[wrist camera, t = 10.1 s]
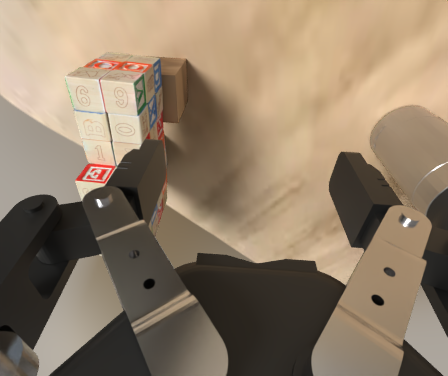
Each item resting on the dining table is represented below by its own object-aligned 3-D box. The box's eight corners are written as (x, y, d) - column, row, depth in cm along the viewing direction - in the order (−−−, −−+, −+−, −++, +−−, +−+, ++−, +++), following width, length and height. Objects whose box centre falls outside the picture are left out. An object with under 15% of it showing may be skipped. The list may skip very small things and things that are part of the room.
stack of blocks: (105, 50, 30) (42, 85, 21) (161, 56, 31) (124, 94, 21) (129, 195, 44) (97, 257, 34) (168, 199, 44) (147, 262, 34)
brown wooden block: (186, 58, 38) (175, 75, 32) (187, 100, 42) (178, 123, 36) (143, 56, 38) (124, 72, 32) (149, 98, 42) (132, 120, 36)
